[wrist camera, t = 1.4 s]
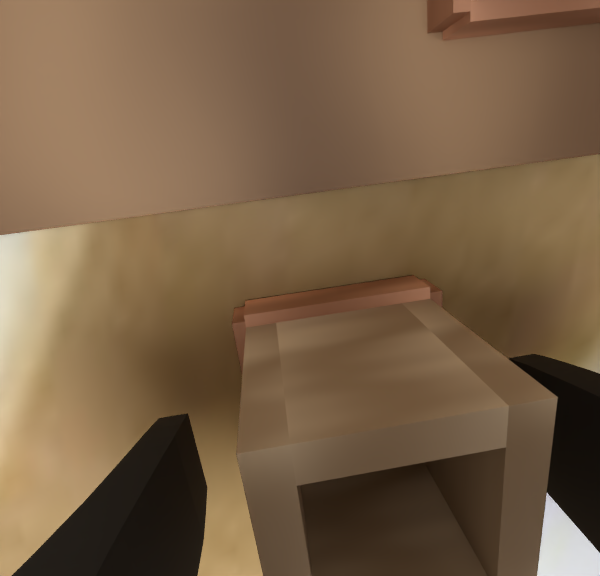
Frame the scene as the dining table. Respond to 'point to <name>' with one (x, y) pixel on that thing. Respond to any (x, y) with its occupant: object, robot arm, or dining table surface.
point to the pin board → (267, 102)
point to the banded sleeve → (387, 437)
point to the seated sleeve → (506, 16)
